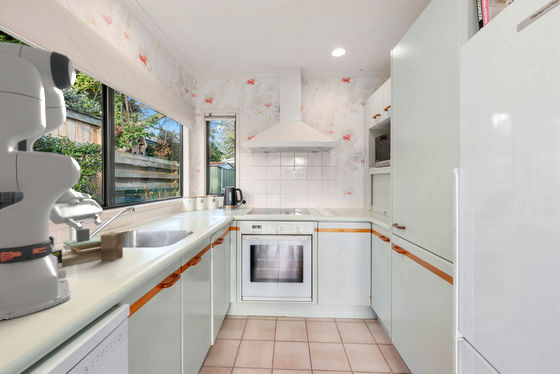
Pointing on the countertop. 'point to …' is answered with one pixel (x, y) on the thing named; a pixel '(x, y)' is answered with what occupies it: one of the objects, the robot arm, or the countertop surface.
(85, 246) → the puzzle board
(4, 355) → the countertop surface
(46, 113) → the robot arm
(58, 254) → the medicine bottle
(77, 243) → the cover
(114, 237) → the block
